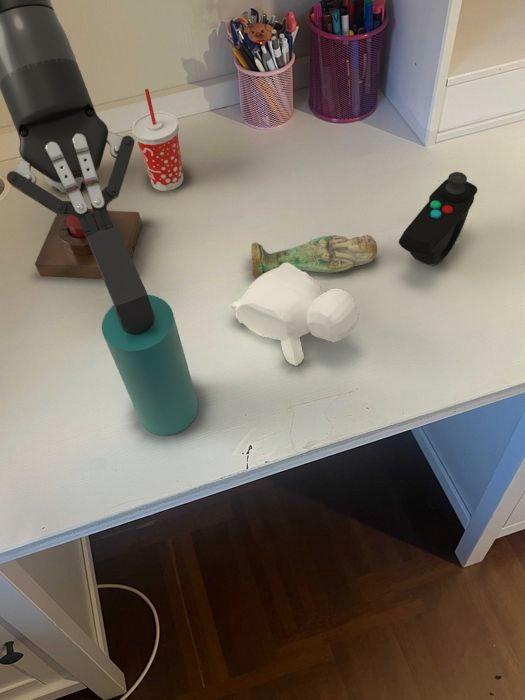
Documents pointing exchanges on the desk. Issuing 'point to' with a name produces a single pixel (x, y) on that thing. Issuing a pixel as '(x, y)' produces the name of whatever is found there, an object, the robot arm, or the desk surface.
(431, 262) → the controller
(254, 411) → the desk surface
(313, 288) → the penguin
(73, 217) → the button
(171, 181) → the beverage cup
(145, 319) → the spray bottle
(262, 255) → the figurine
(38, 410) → the desk surface
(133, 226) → the button box
